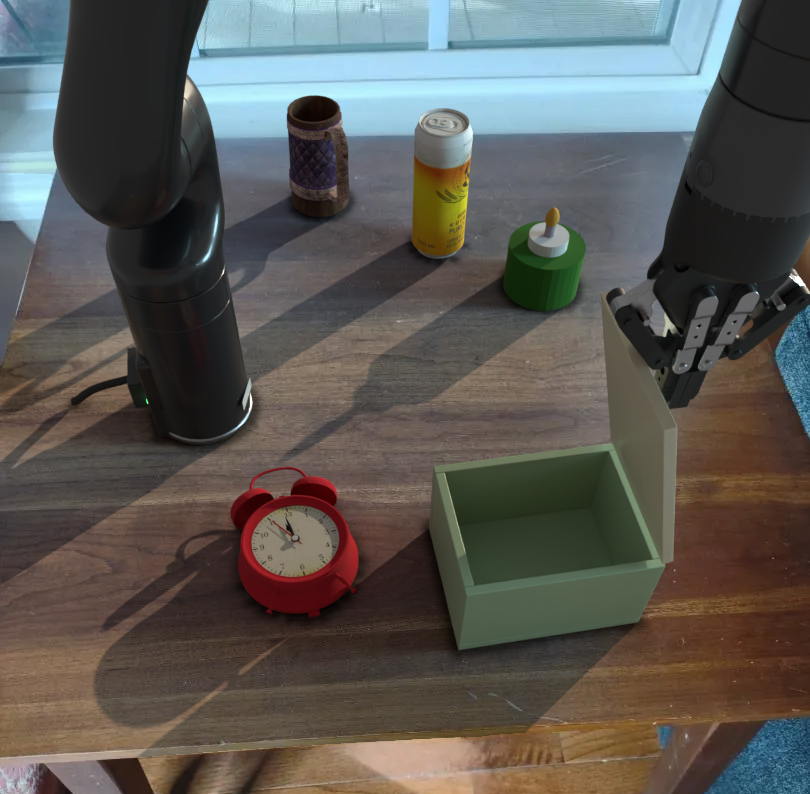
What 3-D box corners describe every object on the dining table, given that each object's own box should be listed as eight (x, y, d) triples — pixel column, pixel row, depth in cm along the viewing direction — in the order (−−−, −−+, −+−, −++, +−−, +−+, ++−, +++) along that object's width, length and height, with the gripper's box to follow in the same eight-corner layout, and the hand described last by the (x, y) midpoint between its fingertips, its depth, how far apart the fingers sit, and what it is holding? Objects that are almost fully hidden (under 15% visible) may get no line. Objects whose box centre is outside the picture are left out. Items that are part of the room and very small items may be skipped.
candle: (488, 280, 98) (497, 202, 89) (542, 253, 101) (556, 175, 92) (536, 321, 94) (551, 243, 86) (591, 291, 97) (611, 213, 89)
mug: (282, 194, 106) (271, 97, 96) (334, 178, 108) (329, 83, 98) (317, 240, 101) (309, 144, 91) (371, 223, 103) (369, 127, 93)
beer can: (458, 265, 99) (468, 141, 87) (406, 257, 100) (409, 133, 87) (467, 233, 103) (478, 109, 90) (416, 226, 103) (421, 102, 91)
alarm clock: (249, 619, 68) (209, 455, 73) (255, 640, 74) (218, 487, 79) (376, 586, 70) (328, 429, 75) (372, 609, 76) (328, 462, 81)
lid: (663, 430, 52) (677, 426, 52) (600, 293, 59) (612, 289, 59) (662, 564, 65) (673, 561, 65) (610, 440, 72) (620, 437, 72)
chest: (458, 650, 71) (466, 595, 64) (428, 527, 78) (433, 465, 71) (638, 622, 73) (666, 566, 66) (593, 504, 80) (614, 442, 73)
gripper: (843, 119, 48) (738, 351, 62) (616, 139, 47) (562, 372, 61) (911, 199, 44) (782, 428, 58) (664, 224, 42) (594, 453, 57)
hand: (670, 399), depth 60 cm, fingers closed
